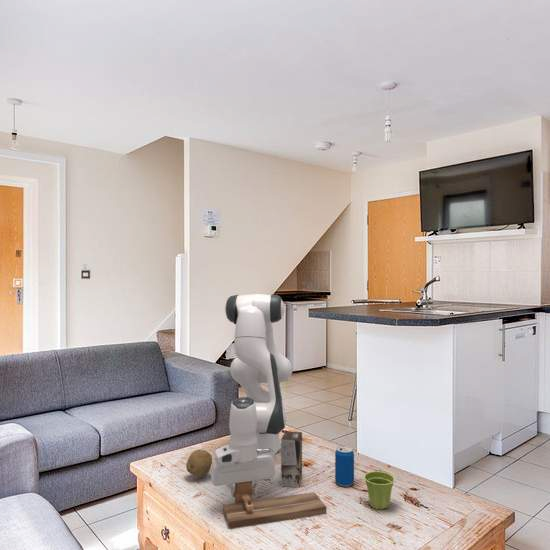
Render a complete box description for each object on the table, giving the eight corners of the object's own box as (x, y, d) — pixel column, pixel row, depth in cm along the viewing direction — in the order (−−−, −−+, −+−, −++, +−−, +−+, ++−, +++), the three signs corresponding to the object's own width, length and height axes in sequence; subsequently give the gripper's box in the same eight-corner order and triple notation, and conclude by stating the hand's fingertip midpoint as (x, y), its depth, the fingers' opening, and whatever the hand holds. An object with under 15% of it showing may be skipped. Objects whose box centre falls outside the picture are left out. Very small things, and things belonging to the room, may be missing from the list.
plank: (222, 511, 141) (222, 504, 141) (314, 498, 150) (314, 491, 150) (229, 528, 132) (229, 521, 132) (326, 513, 140) (326, 506, 140)
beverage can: (340, 477, 165) (340, 444, 165) (357, 482, 161) (357, 448, 161) (332, 484, 160) (331, 449, 160) (348, 489, 156) (348, 453, 156)
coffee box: (299, 487, 157) (298, 440, 157) (280, 486, 159) (280, 439, 159) (302, 476, 166) (302, 431, 166) (285, 474, 168) (285, 430, 168)
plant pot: (393, 515, 139) (393, 486, 139) (361, 509, 143) (361, 481, 143) (396, 500, 148) (396, 473, 148) (366, 495, 151) (366, 469, 151)
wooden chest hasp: (234, 502, 146) (234, 477, 146) (250, 500, 147) (250, 475, 147) (242, 519, 135) (242, 493, 135) (258, 517, 137) (258, 490, 137)
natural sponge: (188, 485, 160) (188, 456, 160) (184, 474, 168) (184, 447, 168) (214, 481, 162) (214, 453, 162) (209, 471, 171) (209, 444, 171)
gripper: (272, 444, 151) (272, 486, 151) (209, 451, 145) (210, 494, 145) (277, 451, 145) (277, 495, 145) (213, 458, 139) (213, 504, 139)
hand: (243, 495), depth 145 cm, fingers closed on wooden chest hasp, 5 cm apart
